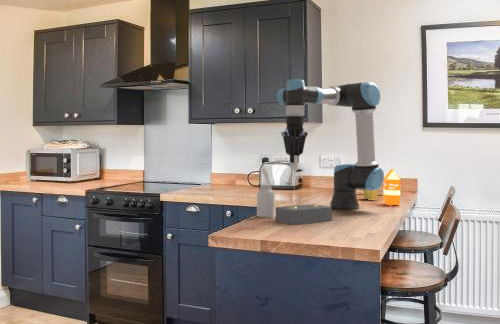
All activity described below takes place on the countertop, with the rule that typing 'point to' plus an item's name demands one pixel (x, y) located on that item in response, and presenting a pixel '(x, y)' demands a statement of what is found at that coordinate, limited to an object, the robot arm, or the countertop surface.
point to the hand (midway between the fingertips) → (294, 170)
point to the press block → (303, 214)
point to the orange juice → (391, 189)
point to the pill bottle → (265, 201)
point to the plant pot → (371, 194)
